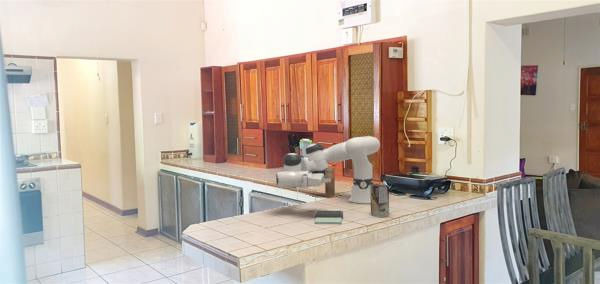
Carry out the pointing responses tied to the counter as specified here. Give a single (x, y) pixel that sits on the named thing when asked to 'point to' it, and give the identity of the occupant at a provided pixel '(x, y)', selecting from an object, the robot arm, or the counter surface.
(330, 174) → the walnut column
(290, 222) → the counter surface
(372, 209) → the coffee box
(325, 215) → the pit tray
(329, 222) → the board
